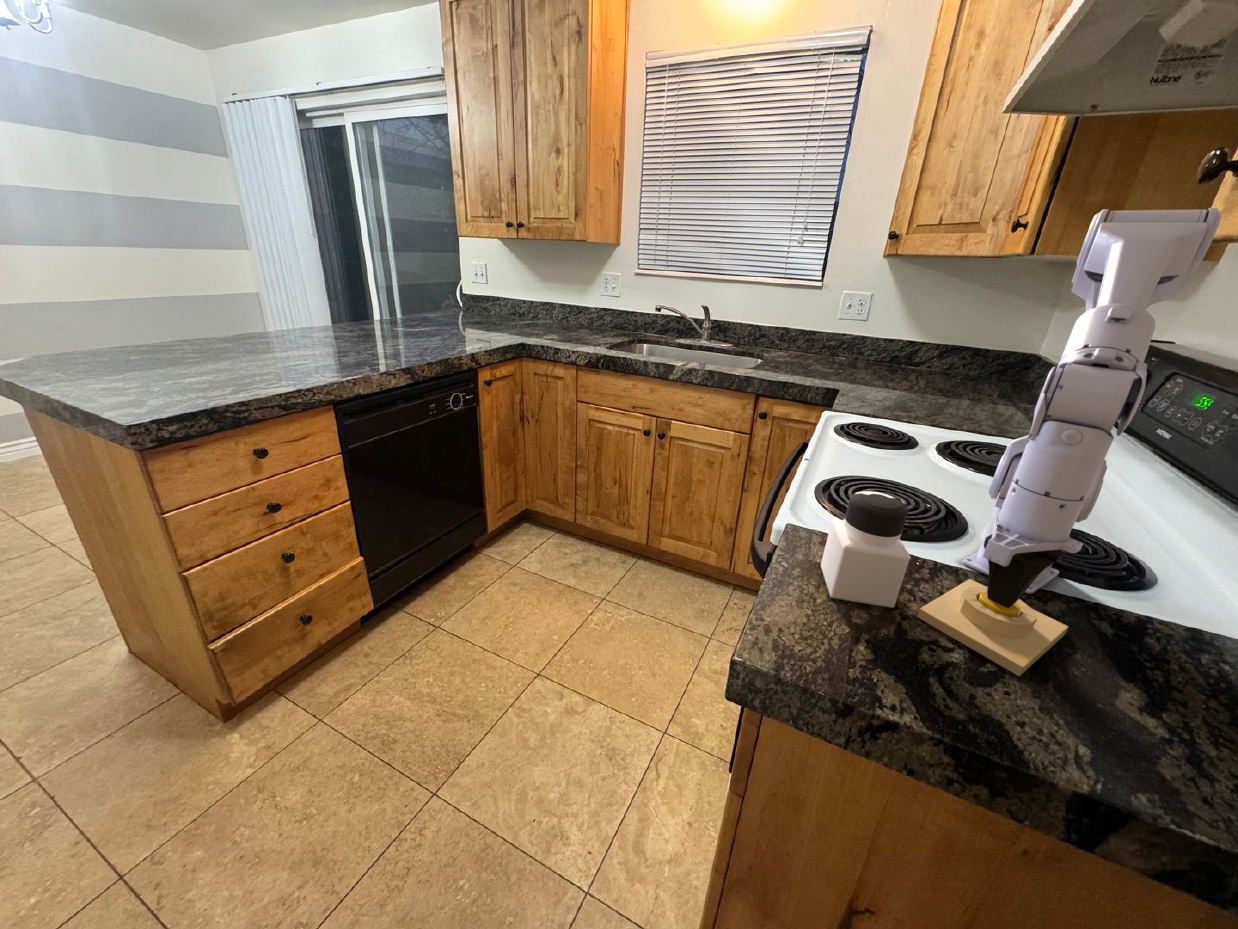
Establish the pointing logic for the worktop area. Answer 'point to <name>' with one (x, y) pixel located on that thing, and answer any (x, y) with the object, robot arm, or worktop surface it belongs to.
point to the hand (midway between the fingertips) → (1000, 601)
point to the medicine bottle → (867, 551)
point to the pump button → (998, 606)
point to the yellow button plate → (993, 627)
